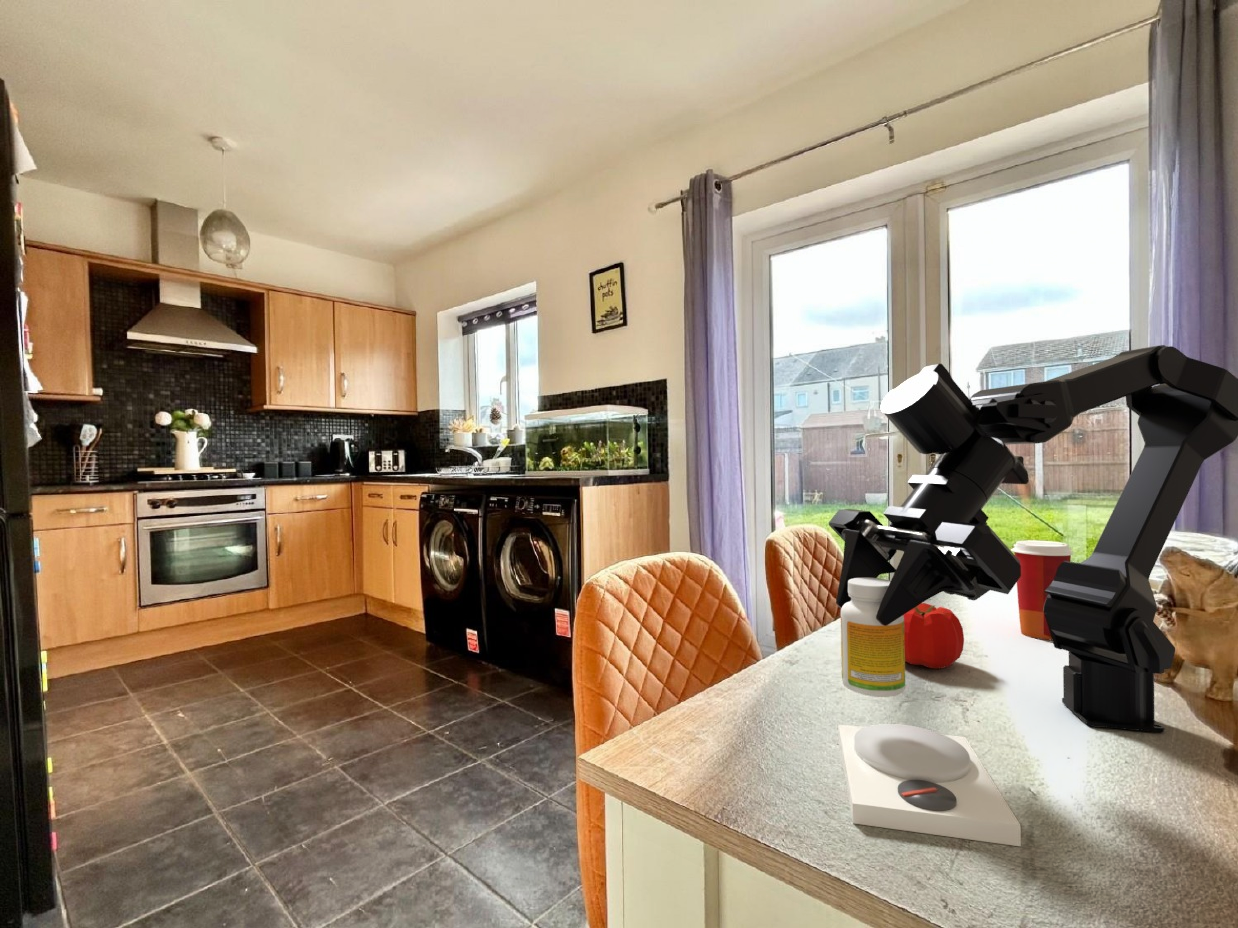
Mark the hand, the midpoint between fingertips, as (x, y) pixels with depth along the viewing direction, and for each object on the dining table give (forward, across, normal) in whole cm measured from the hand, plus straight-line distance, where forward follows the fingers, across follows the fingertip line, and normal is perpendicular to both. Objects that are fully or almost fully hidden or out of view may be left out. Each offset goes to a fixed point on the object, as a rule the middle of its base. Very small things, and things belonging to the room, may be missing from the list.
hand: (859, 614), depth 55 cm
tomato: (-7, +20, -27) cm, 34 cm away
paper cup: (-26, +25, -46) cm, 58 cm away
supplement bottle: (+4, 0, -6) cm, 7 cm away
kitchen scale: (+8, -5, -10) cm, 14 cm away
